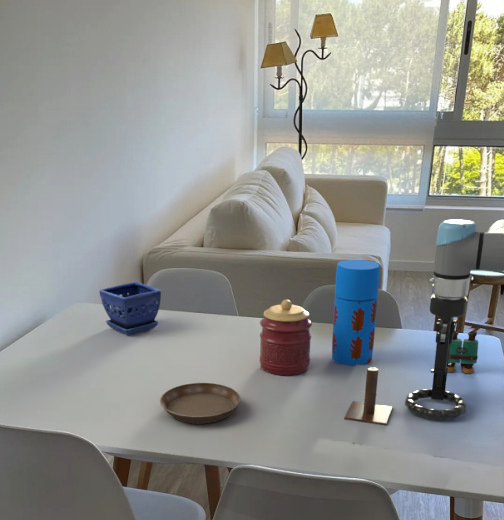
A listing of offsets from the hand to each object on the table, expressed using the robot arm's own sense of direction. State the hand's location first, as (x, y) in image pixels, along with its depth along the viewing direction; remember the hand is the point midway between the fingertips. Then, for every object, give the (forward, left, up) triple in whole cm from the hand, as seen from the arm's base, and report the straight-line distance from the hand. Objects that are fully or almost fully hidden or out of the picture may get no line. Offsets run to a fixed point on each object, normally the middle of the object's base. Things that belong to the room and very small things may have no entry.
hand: (437, 396), depth 160 cm
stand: (+13, +13, -2) cm, 18 cm away
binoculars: (-3, -25, -2) cm, 26 cm away
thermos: (+24, -22, -2) cm, 33 cm away
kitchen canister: (+39, -10, -2) cm, 41 cm away
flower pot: (+90, -24, -2) cm, 94 cm away
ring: (0, +5, +1) cm, 5 cm away
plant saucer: (+49, +22, -2) cm, 54 cm away
